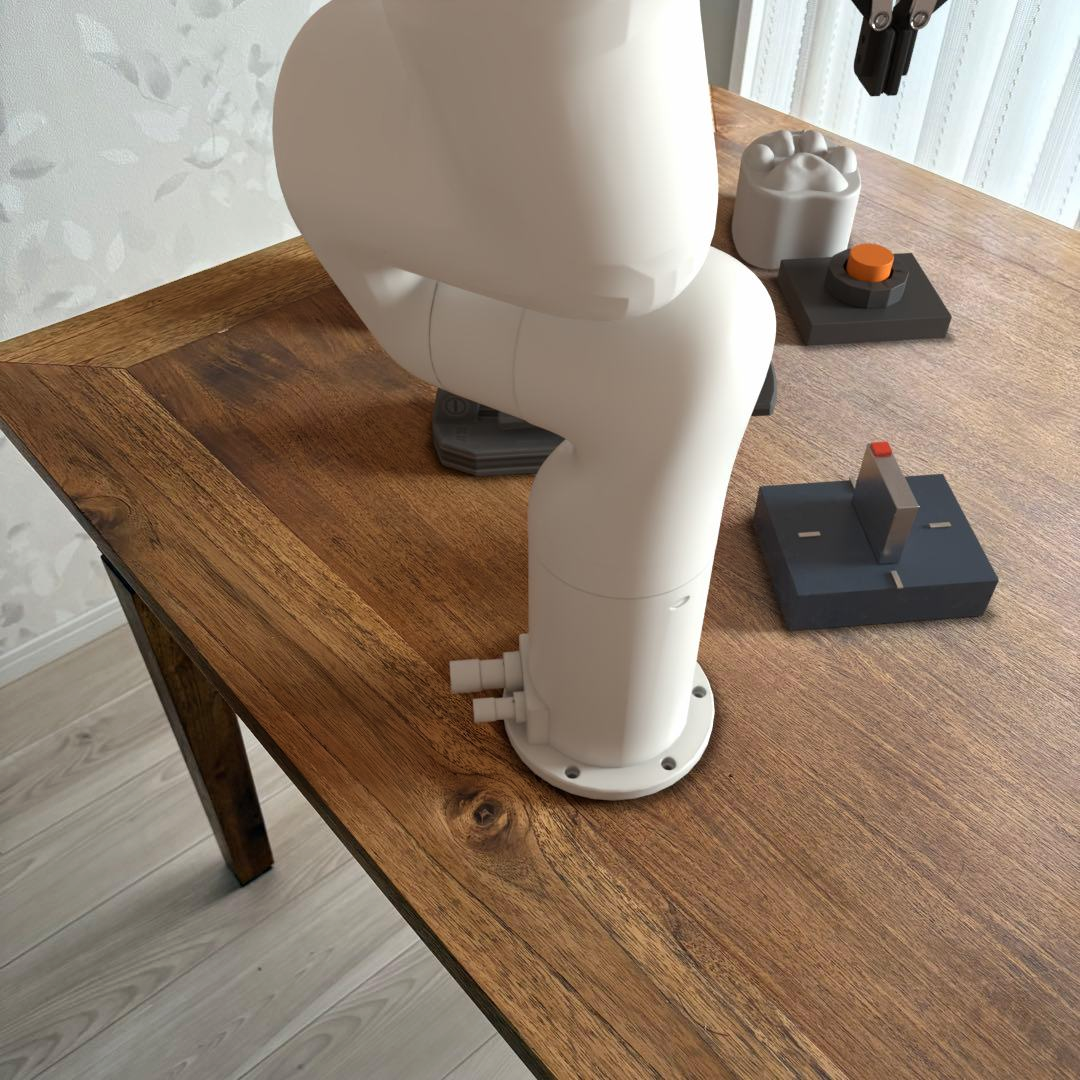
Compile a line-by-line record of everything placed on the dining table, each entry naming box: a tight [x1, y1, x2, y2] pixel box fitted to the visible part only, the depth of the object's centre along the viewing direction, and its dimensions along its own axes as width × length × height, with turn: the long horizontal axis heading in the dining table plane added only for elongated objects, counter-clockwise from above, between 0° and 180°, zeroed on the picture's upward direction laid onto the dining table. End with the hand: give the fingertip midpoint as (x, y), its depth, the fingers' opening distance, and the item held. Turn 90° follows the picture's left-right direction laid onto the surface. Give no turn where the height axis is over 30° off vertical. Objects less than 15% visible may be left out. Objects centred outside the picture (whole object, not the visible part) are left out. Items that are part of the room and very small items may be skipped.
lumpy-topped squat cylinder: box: [731, 129, 862, 270], centre depth 102 cm, size 10×13×9 cm
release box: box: [776, 248, 953, 347], centre depth 95 cm, size 12×10×4 cm
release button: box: [846, 242, 894, 283], centre depth 94 cm, size 4×4×2 cm
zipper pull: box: [431, 359, 778, 477], centre depth 82 cm, size 9×7×25 cm
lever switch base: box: [751, 473, 1000, 632], centre depth 74 cm, size 13×10×4 cm
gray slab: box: [852, 441, 919, 564], centre depth 71 cm, size 6×1×5 cm, turn 6°
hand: (876, 86), depth 70 cm, fingers closed
